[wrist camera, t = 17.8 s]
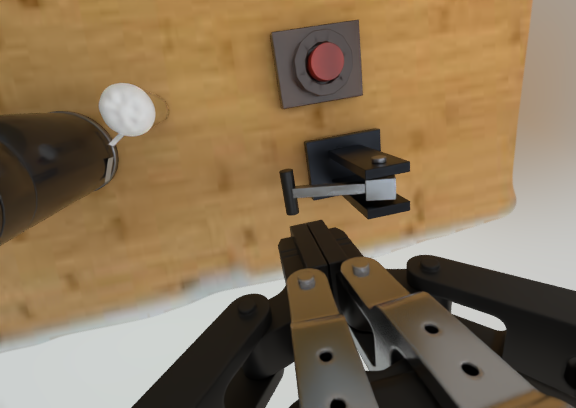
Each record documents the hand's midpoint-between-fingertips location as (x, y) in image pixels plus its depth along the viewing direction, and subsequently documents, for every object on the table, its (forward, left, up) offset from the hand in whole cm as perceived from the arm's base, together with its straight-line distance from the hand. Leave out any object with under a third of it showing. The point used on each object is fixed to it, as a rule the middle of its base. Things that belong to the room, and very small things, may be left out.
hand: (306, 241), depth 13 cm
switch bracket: (+10, -4, -25) cm, 27 cm away
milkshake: (-12, +7, -25) cm, 29 cm away
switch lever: (+7, -4, -17) cm, 18 cm away
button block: (+8, +9, -25) cm, 28 cm away
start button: (+8, +9, -22) cm, 25 cm away
